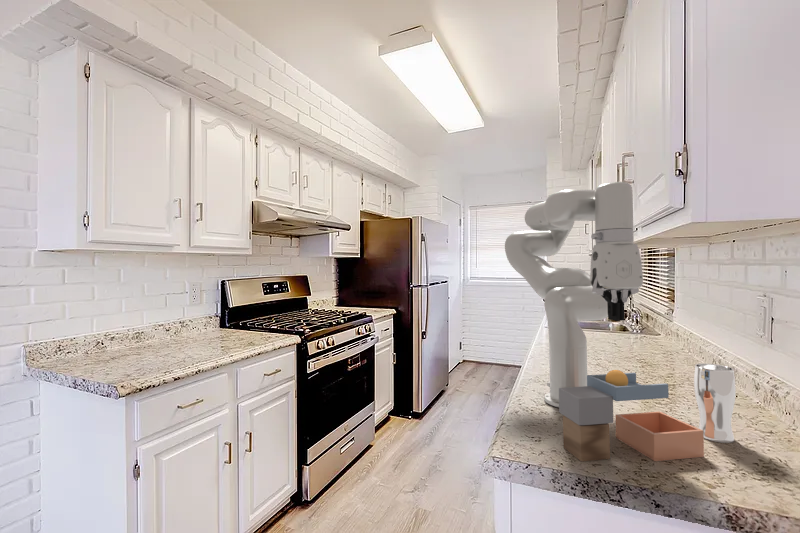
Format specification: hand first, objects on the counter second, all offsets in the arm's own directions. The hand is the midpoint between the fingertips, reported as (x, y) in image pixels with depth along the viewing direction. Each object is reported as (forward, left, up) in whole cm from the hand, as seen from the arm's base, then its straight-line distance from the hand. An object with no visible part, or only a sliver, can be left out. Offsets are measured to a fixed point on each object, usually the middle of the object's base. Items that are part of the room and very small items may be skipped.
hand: (616, 319), depth 89 cm
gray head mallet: (+5, -7, -18) cm, 20 cm away
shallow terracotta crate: (+8, +2, -25) cm, 26 cm away
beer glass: (+6, +18, -25) cm, 32 cm away
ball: (+8, -6, -11) cm, 15 cm away
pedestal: (+8, -14, -25) cm, 30 cm away
